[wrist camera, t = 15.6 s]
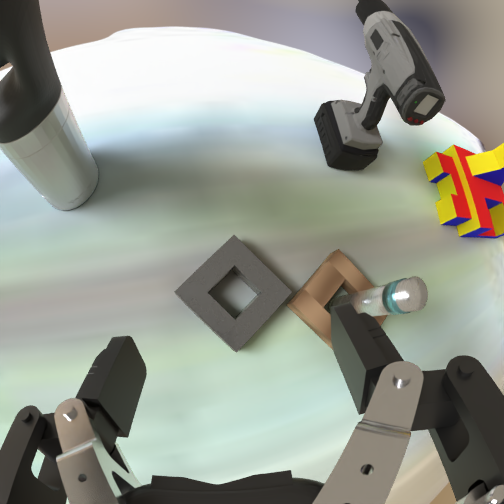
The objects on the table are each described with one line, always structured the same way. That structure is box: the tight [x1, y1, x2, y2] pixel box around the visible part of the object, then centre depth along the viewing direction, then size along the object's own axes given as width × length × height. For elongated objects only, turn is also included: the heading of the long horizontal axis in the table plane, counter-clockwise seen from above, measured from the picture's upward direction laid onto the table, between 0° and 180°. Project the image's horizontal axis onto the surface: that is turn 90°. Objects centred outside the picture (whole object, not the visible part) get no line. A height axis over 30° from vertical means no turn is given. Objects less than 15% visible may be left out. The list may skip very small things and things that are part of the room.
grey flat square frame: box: [175, 235, 292, 352], centre depth 35 cm, size 10×10×2 cm
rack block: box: [287, 249, 387, 349], centre depth 37 cm, size 12×10×2 cm
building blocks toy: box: [423, 143, 504, 238], centre depth 43 cm, size 19×25×18 cm
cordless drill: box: [314, 0, 445, 170], centre depth 35 cm, size 8×24×25 cm, turn 7°
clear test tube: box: [328, 277, 428, 316], centre depth 31 cm, size 3×3×16 cm
